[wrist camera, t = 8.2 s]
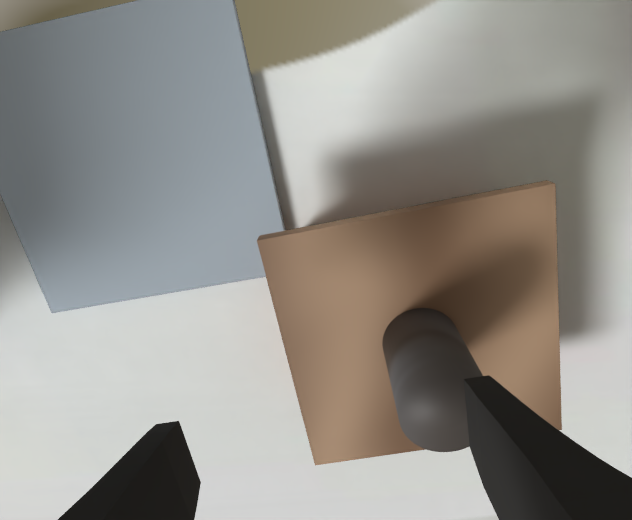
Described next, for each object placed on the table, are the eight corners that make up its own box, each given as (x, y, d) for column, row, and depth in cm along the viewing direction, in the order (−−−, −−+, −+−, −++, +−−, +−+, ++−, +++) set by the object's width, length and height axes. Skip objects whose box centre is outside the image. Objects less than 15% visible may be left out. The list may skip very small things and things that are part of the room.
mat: (58, 308, 21) (51, 313, 20) (-53, 47, 17) (-64, 46, 17) (293, 267, 20) (293, 271, 19) (230, -17, 16) (227, -21, 16)
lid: (315, 454, 19) (312, 557, 15) (258, 235, 16) (234, 286, 12) (554, 419, 19) (623, 517, 14) (546, 180, 15) (633, 214, 11)
